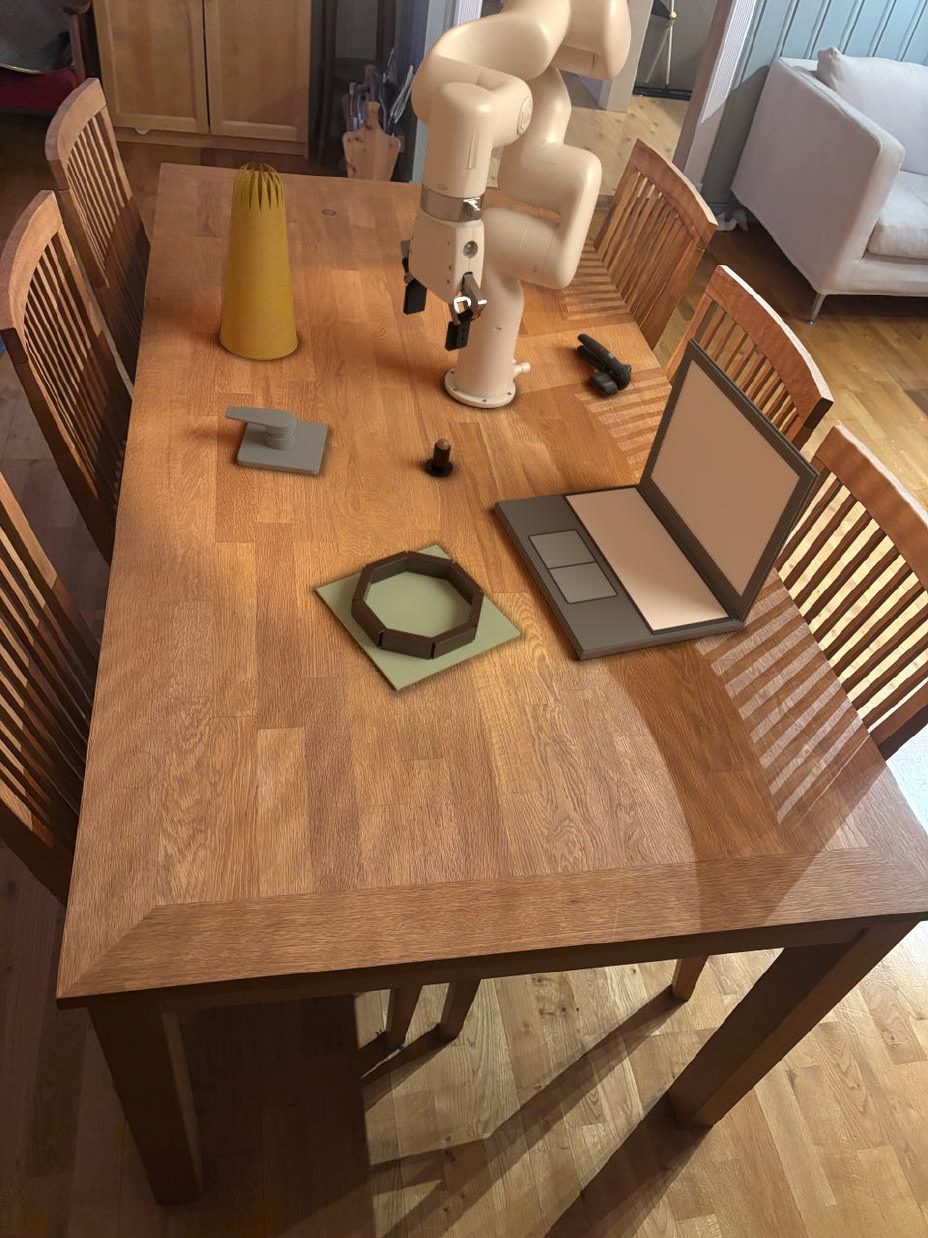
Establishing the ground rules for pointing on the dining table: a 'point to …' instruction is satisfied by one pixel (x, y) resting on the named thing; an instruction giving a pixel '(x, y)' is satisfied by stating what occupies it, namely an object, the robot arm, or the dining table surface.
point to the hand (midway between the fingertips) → (434, 329)
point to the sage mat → (417, 620)
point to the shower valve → (279, 440)
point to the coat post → (440, 460)
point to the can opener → (604, 367)
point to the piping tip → (258, 271)
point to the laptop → (670, 524)
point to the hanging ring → (410, 641)
